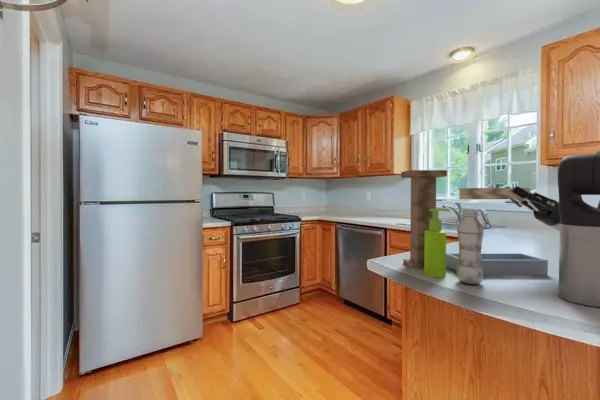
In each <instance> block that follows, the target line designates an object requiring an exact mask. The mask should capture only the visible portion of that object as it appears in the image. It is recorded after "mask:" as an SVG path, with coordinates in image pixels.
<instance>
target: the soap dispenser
mask: <svg viewBox="0 0 600 400" xmlns="http://www.w3.org/2000/svg"><path fill="white" fill-rule="evenodd" d="M430 211H432V218H431V219H430V220H429V230H426V231H425V245H424V269H423V270H424V271H423V273H424V275H425V276H427V277H431V278H445V277H446V276H447V274H446V273H447V271H446V269H447V267H446V253H447V232H446V231H444V230H442V225H443V224H442V222H443V221H442V219H440V218H439V216H440V215H439V214H440V213H439V212H440V211H441V212H442V211H444V212H450V211H451V209H447V208H440V207H436V208H434V209H430Z"/></svg>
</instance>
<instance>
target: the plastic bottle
mask: <svg viewBox="0 0 600 400" xmlns="http://www.w3.org/2000/svg"><path fill="white" fill-rule="evenodd" d="M462 217H463V219H462V220H461V221H460V222H459V223H458V225H457V226H456V233H457V238H458V239H457V240H458V253H459V259H458V265H457V271H456V272H455V273H456V278H457V279H458V281H459V282H461V283H465V284H469V285H478V284H479V285H480V284H481V283H482V282H483V280H484V276H485V275H483V268H482V261H481V253H482V243H483V238H484V231H485V230H484V226H483V224H482V223H481V222H480V220H479V219H478V217H479V210H478V209H462Z"/></svg>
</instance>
